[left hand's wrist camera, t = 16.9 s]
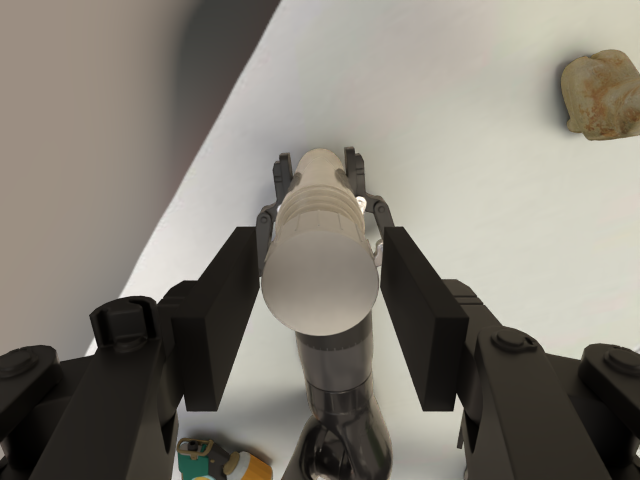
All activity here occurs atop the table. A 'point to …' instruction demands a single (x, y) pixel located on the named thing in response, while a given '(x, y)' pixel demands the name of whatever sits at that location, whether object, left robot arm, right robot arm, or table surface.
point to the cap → (320, 274)
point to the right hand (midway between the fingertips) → (316, 151)
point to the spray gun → (218, 463)
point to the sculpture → (602, 96)
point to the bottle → (320, 190)
